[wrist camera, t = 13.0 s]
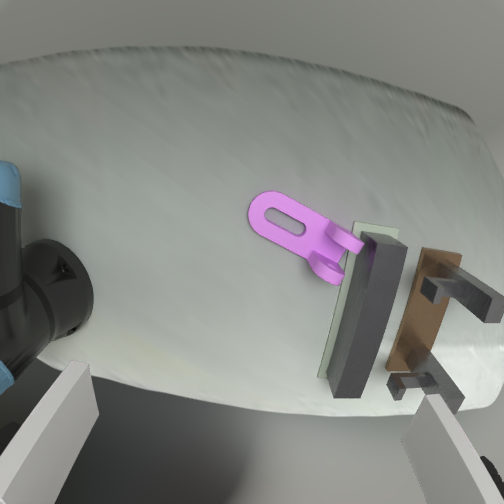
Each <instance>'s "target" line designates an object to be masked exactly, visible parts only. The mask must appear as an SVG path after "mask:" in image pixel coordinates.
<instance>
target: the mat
mask: <svg viewBox="0 0 504 504" xmlns="http://www.w3.org/2000/svg"><path fill="white" fill-rule="evenodd" d="M398 230H399V229H398V228H393V227H387V226H381V225H375V224H368V223H362V222H356V221H354V224H353V229H352V233H353V234H354V235H355V236H356V237H358V238H359V239H360V235H361V231H366V232H373V233H379V234H386V235H390V236H391V237H393V238H394V239H396V240H397V235H398ZM355 259H356V253H354V252H352V251H350V250H348V255H347V259H346V264H345V269H344V273H345V276H344V278H343V280H342V282H341V287H340V291H339V296H338V300H337V304H336V308H335V312H334V316H333V320H332V324H331V328H330V332H329V336H328V340H327V343H326V347H325V351H324V354H323V358H322V361H321V365H320V368H319V372H318V375H317V377H318V378H328V377H327V374H326V372H327V368H328V365H329V362H330V358H331V355H332V351H333V348H334V344H335V341H336V337H337V333H338V330H339V326H340V322H341V318H342V314H343V311H344V307H345V303H346V298H347V294H348V290H349V286H350V282H351V277H352V273H353V268H354V264H355Z"/></svg>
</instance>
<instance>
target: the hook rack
mask: <svg viewBox="0 0 504 504" xmlns="http://www.w3.org/2000/svg"><path fill="white" fill-rule="evenodd" d="M461 258H462V255H461V254H459V253H455V252H449V251H443V250H437V249H430V248H424V247H422V250H421V254H420V258H419V262H418V266H417V270H416V274H415V278H414V281H413V285H412V288H411V292H410V295H409V299H408V302H407V305H406V309H405V312H404V315H403V318H402V321H401V324H400V327H399V330H398V333H397V336H396V339H395V342H394V345H393V347H392V350H391V353H390V355H389V358H388V361H387V363H386V366H385V369H386V370H387V371H411V372H412V373H391V375H390V377H389V380H388V382H387V384H386V385H387V387H388V389H389V391H390V393H391V395H392V397H393V399H394V401H396V400H401V399H402V397H403V395H404V393H405V391H406V388H420V387H421V388H422V390H423V391H424V393H425V394H426V395H432V394H440V396H441V397H442V399H443V400H444V402H445V403H446V405H447V406H448V408H449V409H450V411H451V412H452V414H456V413H457V411H458V409H459V407H460V406H461V404H462V402H463V400H464V399H465V396H464V395H463V394H462V392H461V391H460V390H459V388H458V387H457V386H456V384H455V383H454V382H453V380H452V379H451V378H450V376H449V375H448V374H447V372H446V371H445V370H444V369H443V367H442V366H441V365H440V363H439V362H438V361H437V360H436V358H435V357H434V356H433V354H432V353H431V352H430V351H431V349H432V346H433V344H434V341H435V339H436V336H437V333H438V331H439V328H440V325H441V322H442V320H443V317H444V314H445V311H446V308H447V305H448V302H449V299H450V297H454V298H455V299H456V300H457V301H459V302H460V303H461V304H462V305H463V306H465V307H466V308H467V309H468V310H469V311H471V312H472V313H473V314H474V315H475V316H476V317H478V318H479V319H480V320H481V321H482V322H483V323H500V321H501V319H502V316H503V314H504V296H503V295H501V294H500V293H498V292H497V291H495V290H494V289H492V288H491V287H489V286H488V285H486V284H485V283H483V282H482V281H480V280H479V279H477V278H476V277H474V276H473V275H471V274H470V273H468V272H466V271H465V270H463V269H462V268H460V267H459V265H460V262H461Z"/></svg>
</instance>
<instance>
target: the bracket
mask: <svg viewBox="0 0 504 504" xmlns="http://www.w3.org/2000/svg"><path fill="white" fill-rule="evenodd" d="M270 207H274V208H276V209H278V210H280V211H282V212H284V213H286V214H287V215H289V216H291V217H293V218H295V219H297V220H298V221H300V222H302V223H304V224H305V230H304V232H303V233H302V234H299V235H296V234H294V233H292V232H290V231H288V230H286V229H284V228H282V227H280V226H279V225H277V224H275V223H273V222H271V221H269V220H267V219H266V218H265V216H264V213H265V211H266V210H267V209H268V208H270ZM248 215H249V222H250V224H251V226H252V228H253V229H254V230H255V231H256V232H257V233H258V234H260V235H262V236H263V237H265V238H267V239H269V240H271V241H273V242H275V243H277V244H279V245H281V246H283V247H284V248H286V249H288V250H290V251H292V252H294V253H296V254H298V255H300V256H302V257H303V258H305V259H307V260H308V262H309V264H310V266H311V268H312V270H313V271H314V272H315V273H316V274H317V275H318V276H319V277H321V278H322V279H324V280H325V281H327V282H329V283H331V284H333V285H337V286H339V284H340V283H341V281H342V280H343V278H344V276H345V273H344V271H343V270H342V269H341V267H340V266H339V265H338V262H339V260H340V258H341V257H342V255H343V253H344V252H345V250H346V249H348V250H350V251H352V252H354V253H356V254H359V252H360V250H361V249H362V247H363V245H364V244H365V243H364V242H362V241H361V240H360V239H359V238H358V237H356V236H355V235H354V234H353V233H351V232H350V231H348V230H346V229H345V228H343V227H341V226H340V225H338V224H336V223H334V222H333V221H331V220H329V219H327V218H326V217H324V216H322V215H320V214H319V213H317V212H315V211H313V210H312V209H310V208H308V207H306V206H304V205H303V204H301V203H299V202H297V201H295V200H294V199H292V198H290V197H288V196H286V195H284V194H283V193H281V192H278V191H265V192H263V193H261V194H259V195H257V196H256V197H255V198H254V199H253V201H252V202H251V205H250V207H249V214H248Z"/></svg>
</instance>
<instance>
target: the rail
mask: <svg viewBox="0 0 504 504" xmlns="http://www.w3.org/2000/svg"><path fill="white" fill-rule="evenodd" d="M360 240H361V241H362V242H364V243H365V244H364V245H363V247H362V249H361V250H360V252H359V254H356V259H355V264H354V268H353V273H352V277H351V282H350V286H349V290H348V294H347V298H346V303H345V307H344V311H343V314H342V318H341V322H340V326H339V330H338V333H337V337H336V341H335V344H334V348H333V351H332V355H331V358H330V362H329V365H328V368H327V372H326V374H327V377H328V381H329V384H330V388H331V391H332V394H333V398H361V395H362V393H363V390H364V388H365V385H366V382H367V380H368V377H369V375H370V372H371V369H372V367H373V364H374V361H375V358H376V356H377V353H378V350H379V347H380V344H381V341H382V338H383V335H384V332H385V329H386V326H387V323H388V319H389V316H390V313H391V310H392V306H393V303H394V299H395V296H396V292H397V289H398V285H399V281H400V278H401V274H402V270H403V266H404V262H405V258H406V254H407V249H408V247H407V246H405V245H404V244H402V243H401V242H399V241H397V240H396V239H394V238H393V237H391V236H390V235H386V234H379V233H373V232H366V231H361V235H360Z"/></svg>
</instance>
